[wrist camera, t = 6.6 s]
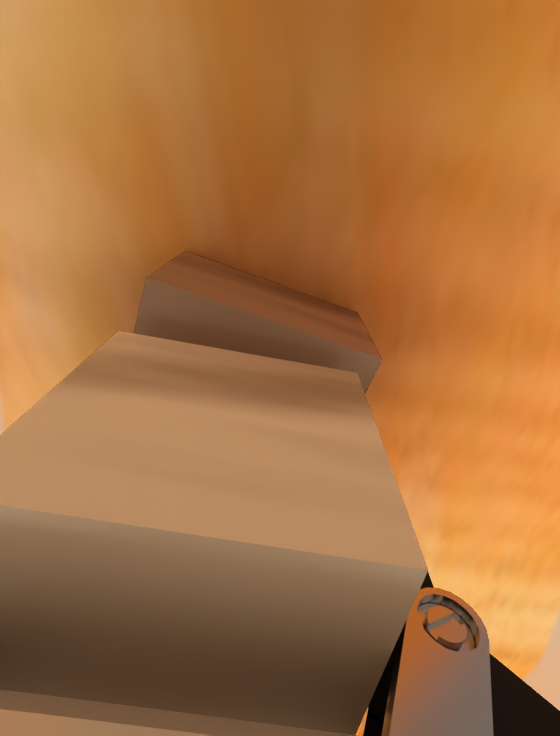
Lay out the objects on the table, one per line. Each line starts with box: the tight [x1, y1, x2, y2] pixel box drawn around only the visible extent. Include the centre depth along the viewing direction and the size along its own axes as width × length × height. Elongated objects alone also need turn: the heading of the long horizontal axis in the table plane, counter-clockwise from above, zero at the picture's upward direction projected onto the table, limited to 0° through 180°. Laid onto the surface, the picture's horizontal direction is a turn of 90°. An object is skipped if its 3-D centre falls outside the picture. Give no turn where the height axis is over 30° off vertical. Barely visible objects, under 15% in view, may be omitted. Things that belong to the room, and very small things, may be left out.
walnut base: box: [134, 251, 382, 393], centre depth 16 cm, size 7×7×5 cm
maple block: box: [0, 331, 428, 735], centre depth 9 cm, size 6×6×6 cm
